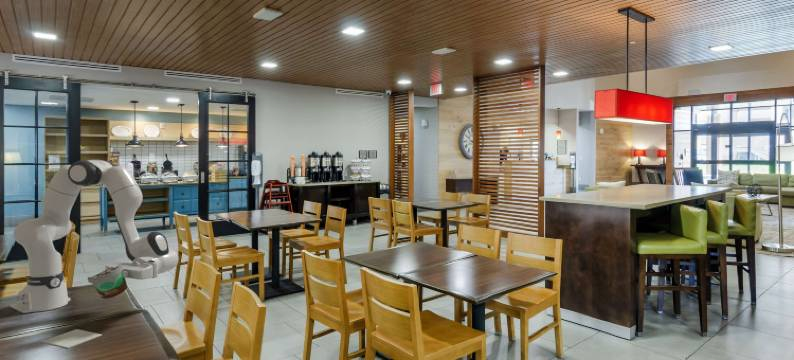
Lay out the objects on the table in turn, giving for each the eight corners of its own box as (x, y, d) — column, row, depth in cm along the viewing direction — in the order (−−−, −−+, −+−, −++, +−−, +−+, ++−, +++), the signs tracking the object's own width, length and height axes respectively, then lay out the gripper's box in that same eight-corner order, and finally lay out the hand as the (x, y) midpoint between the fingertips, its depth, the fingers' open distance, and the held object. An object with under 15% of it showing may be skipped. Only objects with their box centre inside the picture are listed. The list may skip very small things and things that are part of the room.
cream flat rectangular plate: (41, 342, 161) (41, 341, 161) (76, 329, 172) (76, 329, 172) (68, 348, 156) (67, 347, 156) (102, 335, 167) (102, 334, 167)
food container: (98, 305, 171) (87, 282, 168) (96, 298, 176) (85, 276, 172) (133, 289, 178) (124, 267, 174) (131, 283, 182) (121, 262, 179)
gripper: (124, 257, 193) (92, 264, 180) (160, 262, 186) (128, 270, 173) (124, 272, 194) (92, 280, 181) (160, 277, 186) (129, 286, 173)
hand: (110, 275), depth 177 cm, fingers closed on food container
